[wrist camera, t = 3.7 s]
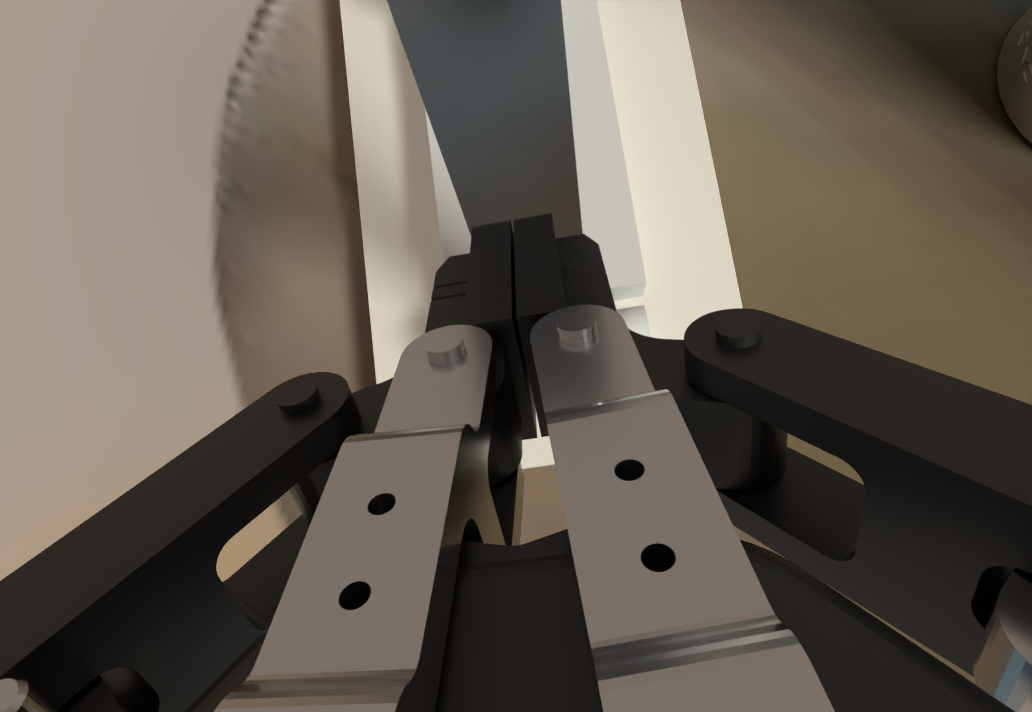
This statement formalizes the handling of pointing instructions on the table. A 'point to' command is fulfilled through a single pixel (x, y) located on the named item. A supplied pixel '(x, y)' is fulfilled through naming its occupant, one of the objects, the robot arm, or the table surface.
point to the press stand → (600, 171)
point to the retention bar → (497, 104)
